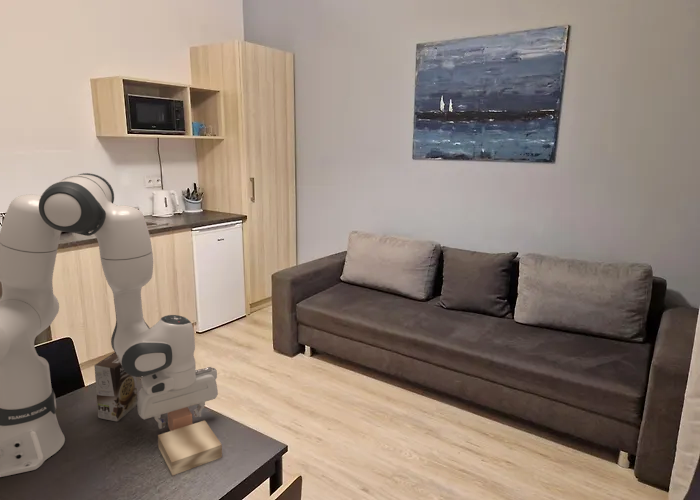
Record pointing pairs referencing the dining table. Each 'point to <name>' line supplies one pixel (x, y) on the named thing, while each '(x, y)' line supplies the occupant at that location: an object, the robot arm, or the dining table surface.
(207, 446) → the birch block
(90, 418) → the dining table surface
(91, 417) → the dining table surface
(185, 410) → the terracotta cube
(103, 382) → the coffee box
